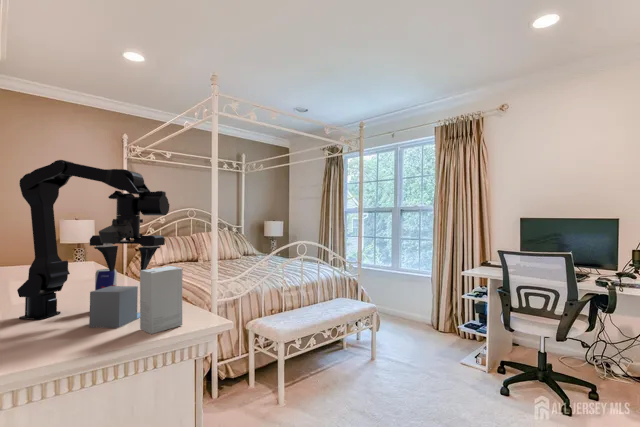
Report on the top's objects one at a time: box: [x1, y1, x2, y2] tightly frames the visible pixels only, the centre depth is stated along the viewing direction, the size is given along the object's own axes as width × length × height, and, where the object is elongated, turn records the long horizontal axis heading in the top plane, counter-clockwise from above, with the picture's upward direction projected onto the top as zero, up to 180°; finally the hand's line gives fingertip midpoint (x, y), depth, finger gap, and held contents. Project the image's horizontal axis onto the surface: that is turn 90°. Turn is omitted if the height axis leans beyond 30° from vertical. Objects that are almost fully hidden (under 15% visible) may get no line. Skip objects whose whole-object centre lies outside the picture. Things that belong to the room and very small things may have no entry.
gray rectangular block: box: [88, 285, 139, 329], centre depth 86 cm, size 8×8×9 cm
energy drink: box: [94, 268, 118, 291], centre depth 99 cm, size 5×5×12 cm
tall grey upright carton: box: [139, 265, 183, 335], centre depth 82 cm, size 8×6×15 cm
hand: (127, 271), depth 92 cm, fingers open, 9 cm apart
